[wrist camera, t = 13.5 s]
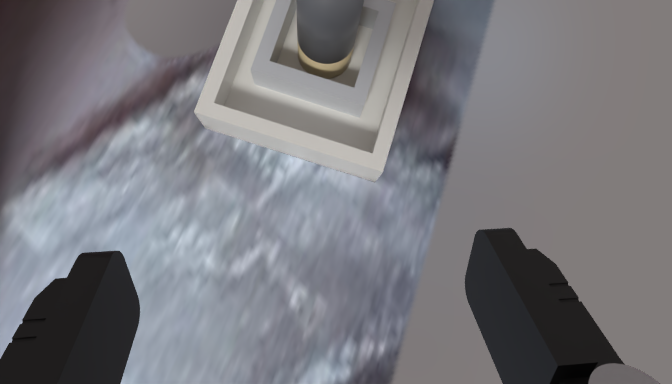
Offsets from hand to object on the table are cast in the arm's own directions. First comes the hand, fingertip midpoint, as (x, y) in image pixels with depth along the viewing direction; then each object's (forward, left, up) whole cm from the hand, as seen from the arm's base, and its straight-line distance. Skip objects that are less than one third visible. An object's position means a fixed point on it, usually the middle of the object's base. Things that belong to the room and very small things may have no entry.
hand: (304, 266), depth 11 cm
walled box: (-7, +14, -22) cm, 27 cm away
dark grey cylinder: (-7, +14, -21) cm, 27 cm away
